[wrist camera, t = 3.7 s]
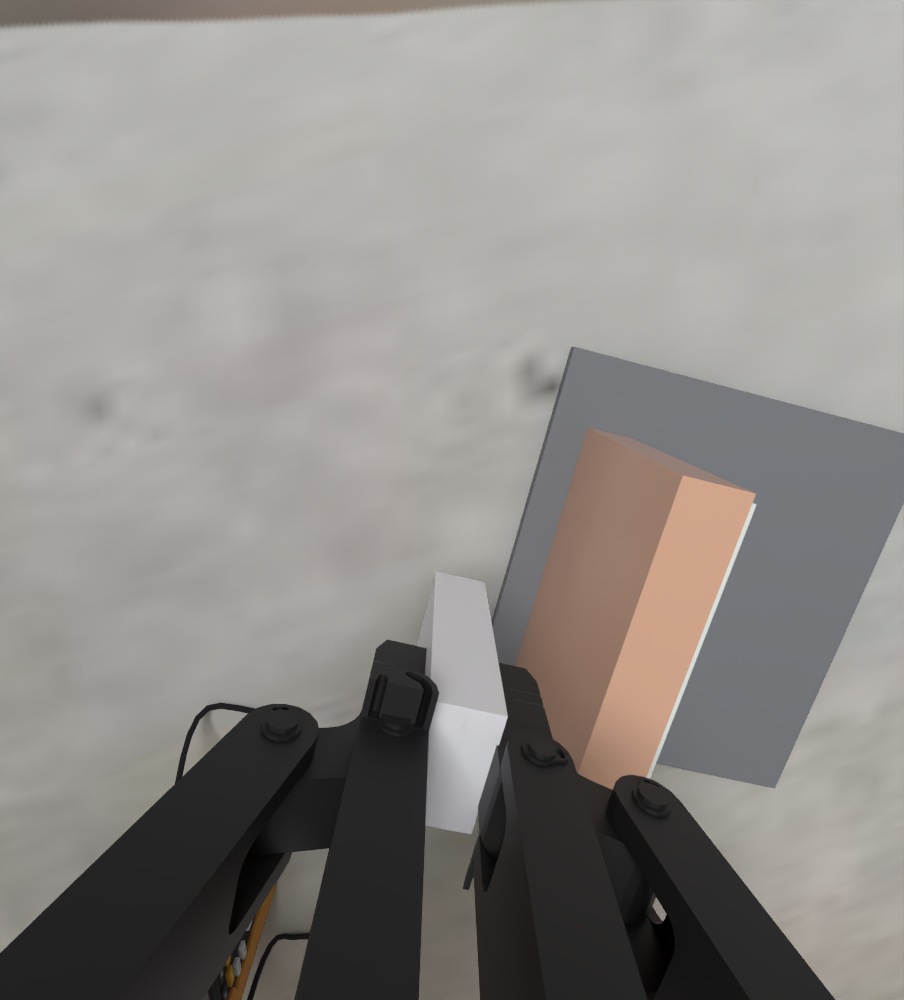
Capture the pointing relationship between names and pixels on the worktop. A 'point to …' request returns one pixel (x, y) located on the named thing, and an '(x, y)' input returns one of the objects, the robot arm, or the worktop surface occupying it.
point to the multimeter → (235, 972)
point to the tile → (628, 600)
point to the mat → (760, 560)
